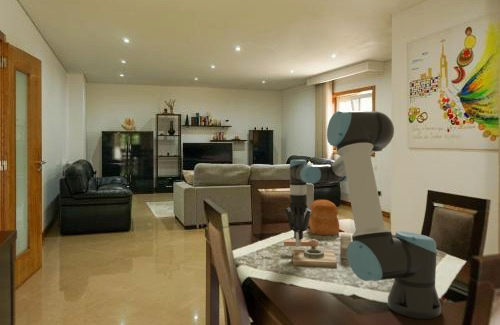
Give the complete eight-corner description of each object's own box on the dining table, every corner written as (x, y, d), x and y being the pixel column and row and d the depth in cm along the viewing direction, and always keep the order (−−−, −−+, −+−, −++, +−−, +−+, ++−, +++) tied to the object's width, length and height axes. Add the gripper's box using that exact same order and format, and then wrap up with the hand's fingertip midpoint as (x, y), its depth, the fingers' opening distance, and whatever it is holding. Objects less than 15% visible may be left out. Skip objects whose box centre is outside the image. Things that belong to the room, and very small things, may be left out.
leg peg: (351, 259, 167) (351, 236, 166) (340, 258, 168) (341, 236, 167) (349, 256, 171) (350, 234, 171) (339, 255, 172) (340, 233, 171)
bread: (333, 225, 234) (333, 197, 233) (340, 236, 208) (341, 204, 207) (307, 225, 235) (307, 197, 234) (311, 235, 209) (312, 204, 208)
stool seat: (336, 267, 156) (336, 258, 156) (292, 265, 159) (292, 256, 158) (333, 254, 174) (333, 246, 174) (293, 252, 176) (293, 244, 176)
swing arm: (317, 244, 176) (317, 238, 176) (318, 246, 172) (318, 241, 172) (283, 244, 176) (283, 238, 176) (284, 246, 172) (284, 240, 172)
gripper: (315, 194, 170) (315, 246, 171) (290, 192, 177) (290, 242, 178) (307, 195, 164) (307, 250, 165) (281, 194, 171) (281, 245, 172)
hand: (298, 246), depth 171 cm, fingers closed
